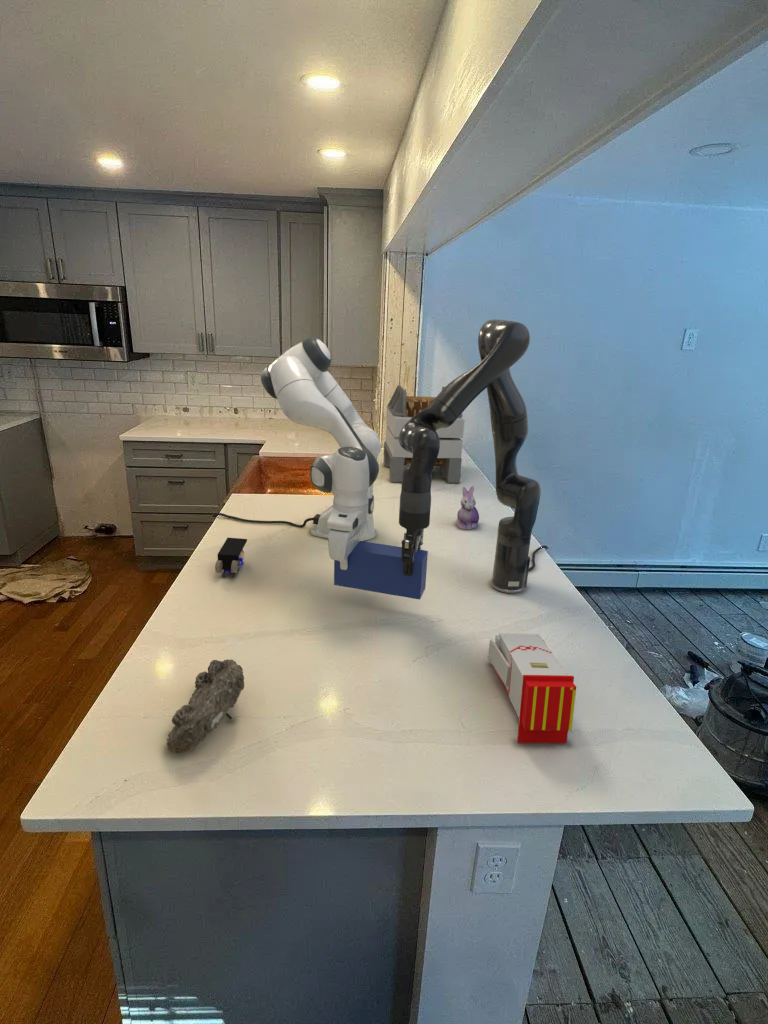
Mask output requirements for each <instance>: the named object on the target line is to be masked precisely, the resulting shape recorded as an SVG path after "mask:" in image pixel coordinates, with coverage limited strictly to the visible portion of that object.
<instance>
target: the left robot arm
mask: <svg viewBox="0 0 768 1024" xmlns="http://www.w3.org/2000/svg"><path fill="white" fill-rule="evenodd" d="M331 364H332V357H331V352H330V349H329V348H328V347H327V345H326V344H325V343H324V342H323V341H322V340H320V339H319V338H318V337H316V336H309V337H306V338H304V339H302V340H301V342H299V343H297V344H295V345H293V346H291V347H290V348H289V349H287V350H285V351H284V352H283V353H282V354H281V355H280V356H279V357H277V358H276V359H275V360H274V361H273V362H271V364H269V365H267V366H266V367H265V368H264V369H263V370H262V372H261V375H260V381H261V384H262V386H263V388H264V390H265V391H266V393H267V394H268V395H269V396H270V397H272V398H273V399H275V400H277V402H278V405H279V407H280V409H281V410H282V412H283V414H284V415H285V416H286V418H288V420H290V421H291V422H293V423H295V424H298V425H301V426H306V427H311V428H316V429H319V430H321V431H325V432H327V433H328V434H330V435H331V436H332V437H333V438H334V441H336V443H337V445H338V446H339V448H338V449H336V450H335V452H333V453H329V454H322V455H320V456H317V457H315V459H314V460H313V461H312V464H311V467H310V472H309V476H310V482H311V485H312V486H314V488H315V489H317V490H318V491H319V492H322V493H326V494H331V495H333V499H332V505H331V506H329V507H328V508H326V509H325V510H323V512H321V513H316V514H315V515H314V516H313V517H309V518H306V519H305V520H304V521H303V523H302V524H297V523H294V522H292V521H288V520H259V519H258V520H257V519H256V520H255V519H246V518H241V517H237V516H232V515H228V514H225V513H222V512H216V513H214V514H213V515H212V518H217V517H218V516H220V517H224V518H228V519H231V520H236V521H240V522H244V523H252V524H285V525H288V526H289V525H290V526H293V527H295V528H305V527H306V525H307V523H308V522H311V521H312V525H313V526H312V528H311V530H310V533H311V536H315V537H319V538H323V539H326V540H327V541H328V555H329V558H330V559H331V560H332V561H334V560H337V561H340V568H341V569H342V570H347V568H348V567H349V562H348V560H347V558H348V555H349V554H350V553H351V552H352V550H353V549H354V548H355V546H356V545H357V544H358V543H359V542H360V541H364V542H366V541H368V540H372V539H373V538H375V537H376V535H377V532H376V528H375V523H374V513H373V512H374V509H375V496H374V483H375V482H376V480H377V478H378V475H379V471H380V466H379V462H378V456H379V455H380V453H381V450H382V442H381V440H380V437H379V435H378V433H377V432H376V430H374V429H372V428H371V427H370V426H369V425H367V424H366V423H365V422H364V420H363V419H362V417H361V416H360V414H359V412H358V411H357V410H356V408H355V405H354V404H353V403H352V401H351V399H350V398H349V397H348V395H347V394H346V392H345V391H344V390H343V388H342V387H341V386H340V384H339V383H338V382H337V381H336V379H335V377H334V376H333V375H332V374H331V373H330V372H329V368H330V366H331Z"/></svg>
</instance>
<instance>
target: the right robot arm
mask: <svg viewBox="0 0 768 1024" xmlns="http://www.w3.org/2000/svg"><path fill="white" fill-rule="evenodd" d="M477 337H478V338H477V346H478V353H479V357H480V362H478V363H477V364H476V365H474V366H473V367H471V368H469V370H467V371H465V372H463V373H462V374H460V375H459V376H457V377H455V378H454V379H453V380H452V381H450V382H449V383H448V384H447V385H446V386H444V387H445V388H444V389H443V390H442V389H441V391H440V392H439V393H438V394H437V396H435V397H436V398H435V399H434V400H433V401H432V403H431V404H430V405H429V406H428V407H426V408H425V409H423V410H422V411H421V412H419V413H418V414H417V415H415V416H414V417H413V418H411V419H410V420H409V421H408V422H407V423H406V424H405V425H404V426H403V428H402V430H401V432H400V434H399V444H400V446H401V447H402V448H403V449H404V450H406V451H408V452H410V453H412V454H413V457H412V461H411V463H410V464H407V465H404V468H403V472H402V482H401V489H400V495H399V509H398V510H399V511H398V512H399V513H398V525H399V526H400V527H401V528H404V529H405V530H406V532H404V534H403V539H402V540H401V547H402V558H401V560H402V562H404V575H407V576H412V574H413V562H414V556H415V553H417V550H418V549H419V550H422V547H423V544H424V530H426V529H427V528H429V526H430V523H431V510H432V509H431V507H432V477H433V476H432V474H433V472H434V469H435V467H436V466H435V463H436V460H437V457H438V454H439V449H440V440H439V436H438V434H437V432H436V430H437V429H440V428H447V427H450V426H451V425H452V424H453V423H454V422H455V421H456V420H457V418H458V417H459V416H460V415H461V414H462V415H463V413H464V412H465V411H466V409H467V408H468V407H469V406H470V404H472V402H473V401H474V400H475V399H477V397H479V396H480V394H482V392H483V391H485V390H486V392H487V399H488V405H489V407H488V408H489V417H490V426H491V434H492V439H493V449H494V462H495V463H494V464H495V493H496V498H497V500H498V502H499V503H500V504H502V505H504V506H506V507H508V508H511V509H514V513H513V516H506V517H503V518H501V519H500V520H499V522H498V526H497V535H496V544H495V550H494V551H495V552H494V560H493V570H492V577H491V583H490V585H491V587H492V588H493V589H494V590H496V591H498V592H501V593H505V594H518V593H521V592H523V591H524V590H525V588H527V584H528V578H529V577H528V576H529V572H530V571H532V570H533V569H534V568H535V567H536V562H535V561H536V560H535V558H536V557H535V555H536V553H538V552H539V551H540V550H541V549H546V550H548V549H549V546H547V545H542V546H541V545H540V546H539V547H537V548H536V549H535V550H534V551H532V555H531V557H530V556H529V554H530V547H531V546H530V545H531V540H532V534H533V533H532V532H533V529H534V526H535V523H536V521H537V516H538V511H539V505H540V500H541V495H542V492H541V485H540V483H539V482H538V481H537V480H536V479H533V478H531V477H527V476H524V475H521V474H519V472H518V469H517V468H518V467H517V457H518V454H519V452H520V450H521V448H522V447H523V445H524V443H525V441H526V440H527V437H528V434H529V420H528V411H527V406H526V402H525V401H524V398H523V396H522V394H521V392H520V390H519V389H518V387H517V385H516V383H515V381H514V379H513V376H512V374H511V371H510V370H511V369H510V368H511V367H512V366H514V365H515V364H516V363H517V362H519V360H521V358H522V357H524V356H525V354H526V352H527V351H528V349H529V345H530V343H531V335H530V331H529V329H528V327H527V326H526V325H525V324H523V323H521V322H519V321H514V320H505V319H488V320H487V321H485V322H484V323H483V324H482V325H481V327H480V329H479V333H478V336H477ZM541 547H542V548H541ZM407 554H408V555H410V557H407ZM530 563H532V565H531V564H530ZM530 565H531V566H530Z"/></svg>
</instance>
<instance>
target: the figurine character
mask: <svg viewBox="0 0 768 1024" xmlns="http://www.w3.org/2000/svg"><path fill="white" fill-rule="evenodd" d="M247 542H248V538H240V537H226V539H225V541H224V543H223V544H222V546H221V547H220V549H219V551H218V552H217V560H216V562H215V564H214V572H215V573H221V577H222V578H224V577H225V576H226V574H227V573H230V574H231V573H232V574H231V578H234V577H235V575H236V573H237V572H239V571H240V567H242V566H243V565H244V564H245V562H244V558H245V551H244V547H245V546H246V544H247Z"/></svg>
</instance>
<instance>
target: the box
mask: <svg viewBox="0 0 768 1024" xmlns="http://www.w3.org/2000/svg"><path fill="white" fill-rule="evenodd" d="M428 553H429V551H428V550H425V549H421V550H419V549H418V550H417V553H415V556H414V562H413V574H412V576H407V575H404V562H402V560H401V558H402V546H398V545H391V544H384V543H379V542H378V543H377V542H372V541H360V542H359V543H358V544H357V545H356V546H355V548H354V549H353V550H352V552H351V553H350V554H349V555H348V558H347V560H348V562H349V567H348V568H347V570H342V569H341V568H340V561H337V560H333V563H334V564H333V585H334V586H338V587H343V588H349V589H355V590H361V591H367V592H372V593H379V594H384V595H390V596H391V595H392V596H397V597H403V598H409V599H413V600H421V599H422V597H423V594H424V593H425V590H426V586H427V585H426V582H427V570H428V569H427V567H428V557H429V556H428V555H429V554H428ZM407 557H410V555H408V554H407Z"/></svg>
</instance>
